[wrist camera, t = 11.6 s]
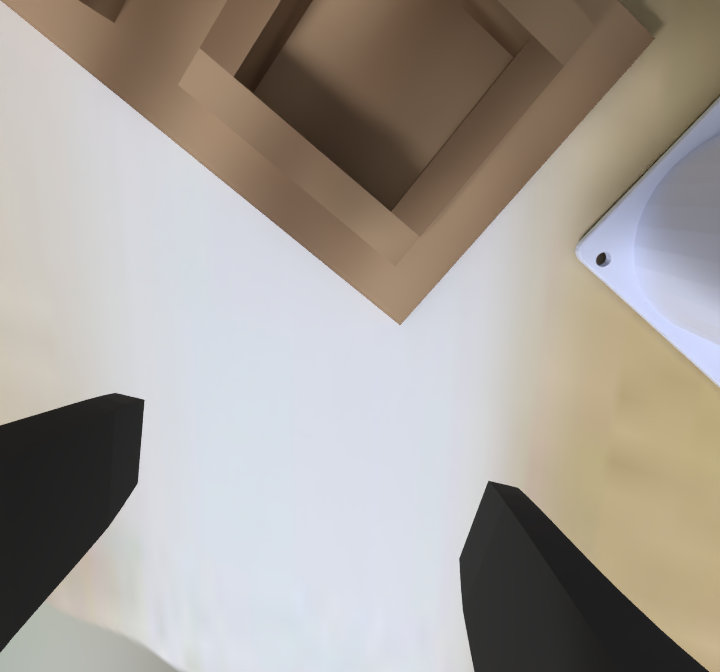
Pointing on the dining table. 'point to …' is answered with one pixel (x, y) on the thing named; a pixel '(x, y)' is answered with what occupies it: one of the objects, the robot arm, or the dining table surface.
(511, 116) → the walnut rack
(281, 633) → the dining table surface
